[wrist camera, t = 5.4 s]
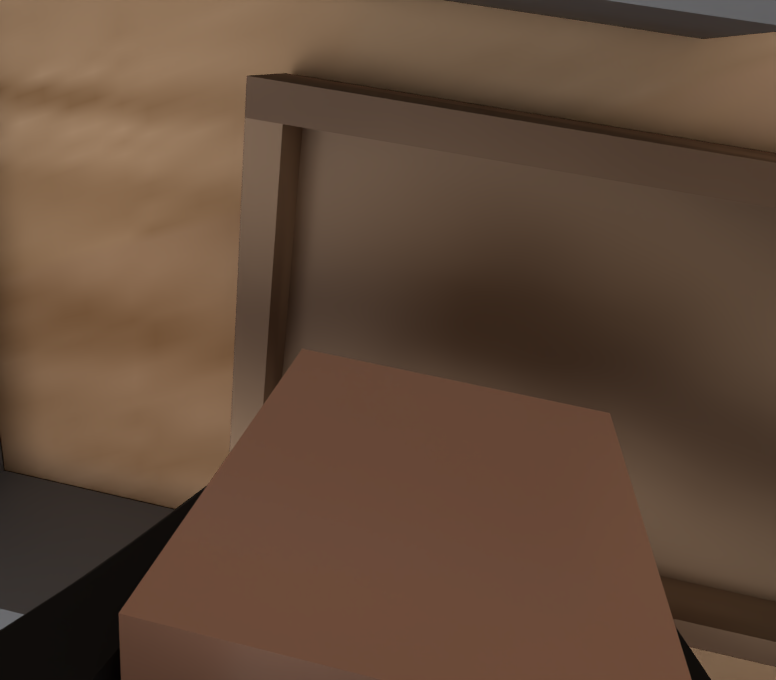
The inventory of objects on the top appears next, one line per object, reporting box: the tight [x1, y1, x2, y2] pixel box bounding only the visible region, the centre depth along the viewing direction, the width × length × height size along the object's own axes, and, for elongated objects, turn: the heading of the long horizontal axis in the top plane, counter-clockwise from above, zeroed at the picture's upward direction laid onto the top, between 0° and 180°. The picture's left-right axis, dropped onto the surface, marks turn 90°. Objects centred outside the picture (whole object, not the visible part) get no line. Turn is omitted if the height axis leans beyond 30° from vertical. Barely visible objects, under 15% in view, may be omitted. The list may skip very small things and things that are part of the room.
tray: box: [230, 73, 776, 667], centre depth 15 cm, size 13×17×5 cm
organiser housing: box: [0, 0, 776, 630], centre depth 16 cm, size 18×19×5 cm
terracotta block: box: [119, 349, 692, 680], centre depth 8 cm, size 4×4×5 cm
